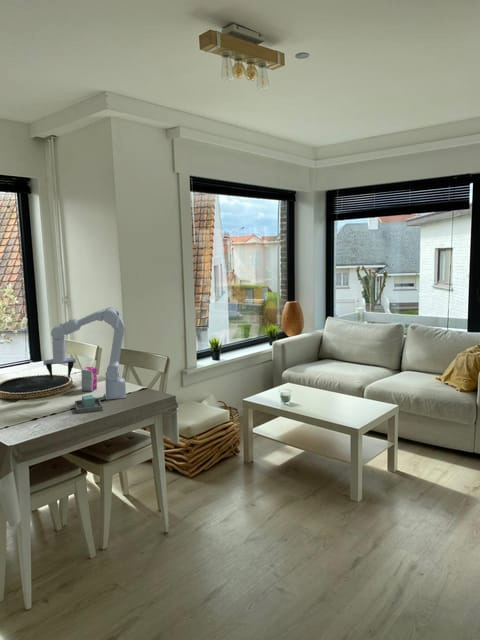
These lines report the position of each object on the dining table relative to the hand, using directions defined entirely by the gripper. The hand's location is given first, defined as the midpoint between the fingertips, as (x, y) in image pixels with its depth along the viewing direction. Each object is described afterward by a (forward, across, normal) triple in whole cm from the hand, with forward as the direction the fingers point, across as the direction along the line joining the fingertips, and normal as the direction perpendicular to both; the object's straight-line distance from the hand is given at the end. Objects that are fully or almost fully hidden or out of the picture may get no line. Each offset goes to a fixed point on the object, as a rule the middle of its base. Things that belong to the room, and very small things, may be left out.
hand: (60, 378), depth 234 cm
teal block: (+10, -11, +16) cm, 22 cm away
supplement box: (+11, -14, -9) cm, 20 cm away
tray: (+10, -11, +16) cm, 22 cm away
